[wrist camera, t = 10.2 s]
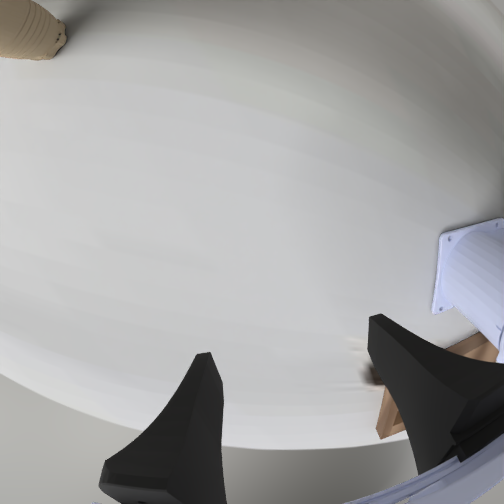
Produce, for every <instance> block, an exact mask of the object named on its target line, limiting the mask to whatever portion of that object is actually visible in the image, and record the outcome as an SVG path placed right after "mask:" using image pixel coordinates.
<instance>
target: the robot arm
mask: <svg viewBox="0 0 504 504" xmlns="http://www.w3.org/2000/svg"><path fill="white" fill-rule="evenodd" d="M449 236H450V237H449ZM448 237H449V239H448ZM453 307H456V308H457V309H458V310H459V311H460V312H461V313H462V314H463V315H464V316H465V317H466V318H467V319H468V320H469V321H470V322H471V323H472V324H473V325H474V326H475V327H476V328H477V329H478V330H479V331H480V332H481V333H482V334H483V335H484V336H485V337H486V338H487V339H488V340H489V341H490V342H491V343H492V344H493V345H494V346H495V347H496V348H497V349H498V350H499V354H498V356H497V358H496V361H497V362H498V363H495V362H487V361H482V360H477V359H472V358H468V357H465V356H462V355H459V354H456V353H453V352H450V351H448V350H445V349H443V348H440V347H438V346H436V345H434V344H432V343H430V342H428V341H426V340H424V339H422V338H420V337H419V336H417V335H415V334H413V333H412V332H410V331H408V330H407V329H405V328H403V327H402V326H400V325H399V324H397V323H396V322H394V321H392V320H391V319H389V318H388V317H386V316H385V315H383V314H377V315H374V316H371V317H369V332H368V349H367V350H368V352H369V355H370V357H371V360H372V362H373V364H374V367H375V369H376V370H377V372H378V374H379V376H380V377H381V379H382V381H383V383H384V384H385V386H386V388H387V389H388V391H389V393H390V395H391V396H392V398H393V400H394V402H395V404H396V406H397V408H398V410H399V413H400V415H401V418H402V420H403V423H404V426H405V428H406V431H407V434H408V437H409V440H410V443H411V447H412V450H413V454H414V458H415V461H416V466H417V470H418V475H419V476H417V477H414V478H412V479H410V480H408V481H405V482H403V483H401V484H398V485H396V486H394V487H391V488H388V489H386V490H383V491H381V492H378V493H375V494H372V495H370V496H366V497H364V498H360V499H357V500H354V501H351V502H347V503H344V504H395V503H397V502H399V501H402V500H404V499H406V498H408V497H410V498H409V501H408V502H407V503H404V504H470V503H471V502H473V501H474V500H475V499H477V498H479V497H480V496H481V495H483V494H484V493H486V492H487V491H488V490H490V489H491V488H492V487H494V486H495V485H496V484H497V483H499V482H500V481H501V480H503V479H504V219H503V218H497V219H493V220H490V221H486V222H482V223H479V224H475V225H471V226H467V227H464V228H460V229H456V230H452V231H448V232H445V233H442V234H441V236H440V239H439V252H438V264H437V274H436V283H435V291H434V298H433V304H432V313H433V314H435V315H436V314H439V313H441V312H444V311H446V310H448V309H451V308H453ZM223 407H224V397H223V382H222V380H221V377H220V375H219V372H218V370H217V368H216V365H215V363H214V360H213V358H212V355H211V353H210V352H207V353H201V354H197V355H196V356H195V358H194V360H193V362H192V364H191V366H190V368H189V370H188V371H187V373H186V375H185V377H184V379H183V380H182V382H181V384H180V385H179V387H178V389H177V390H176V392H175V393H174V395H173V396H172V398H171V399H170V401H169V402H168V404H167V405H166V407H165V408H164V409H163V410H162V412H161V413H160V414H159V415H158V417H157V418H156V419H155V420H154V421H153V422H152V423H151V424H150V426H149V427H148V428H147V429H146V430H145V431H144V432H143V433H142V434H141V435H139V437H137V438H136V439H135V440H134V441H133V442H131V443H130V444H129V445H127V446H126V447H125V448H124V449H122V450H121V451H119V452H118V453H116V454H115V455H113V456H112V457H110V458H109V459H107V460H105V463H104V466H103V469H102V473H101V477H100V482H99V488H100V489H101V490H102V491H103V492H104V493H105V494H107V495H108V496H110V497H112V498H113V499H115V500H116V501H118V502H120V503H121V504H227V501H226V494H225V487H224V478H223V467H222V453H221V439H222V423H223ZM413 495H414V496H413ZM411 496H412V497H411ZM92 504H99V503H95V502H92Z"/></svg>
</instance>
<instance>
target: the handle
mask: <svg viewBox="0 0 504 504" xmlns="http://www.w3.org/2000/svg"><path fill="white" fill-rule="evenodd" d="M65 28H66V26H65V25H64V24H63V23H62V22H61V21H60V20H59V19H57V20H56V18H55V17H54V16H53V15H52V14H51V13H49V12H48V11H47V10H46V9H44V8H43V7H42V6H40V5H39V4H37V3H35V2H34V1H31V0H0V57H5V58H13V59H30V60H42V59H45V60H50V59H51V58H53V57H54V56H55V54H56V52H57V51H58V50H59V49H60V47H62V46H63V45H64V44H65V42H66V39H67V37H66V36H65Z"/></svg>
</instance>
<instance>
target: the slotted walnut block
mask: <svg viewBox="0 0 504 504" xmlns="http://www.w3.org/2000/svg"><path fill="white" fill-rule="evenodd" d="M445 350H448V351H450V352H453V353H456V354H459V355H462V356H465V357H468V358H472V359H477V360H482V361H487V362H496V358H497V356H498V354H499V350H498V349H497V348H496V347H495V346H494V345H493V344H492V343H491V342H490V341H489V340H488V339H487V338H486V337H485V336H484V335H483V334H482V333H481V332H479V333H477V334H475V335H473V336H471V337H469V338H467V339H465V340H463V341H461V342H459V343H457V344H455V345H453V346H451V347H449V348H447V349H445ZM376 430H377V432H378V435H379V437H380V439H383V438H386V437H389V436H391V435H394V434H396V433H399V432H401V431H404V430H406V428H405V426H404V423H403V420H402V418H401V415H400V413H399V411H398V408H397V406H396V404H395V402H394V400H393V398H392V396H391V395H390V393H389V391H388V389H387V388H386V386H385V391H384V396H383V401H382V405H381V410H380V414H379V418H378V422H377V426H376Z"/></svg>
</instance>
